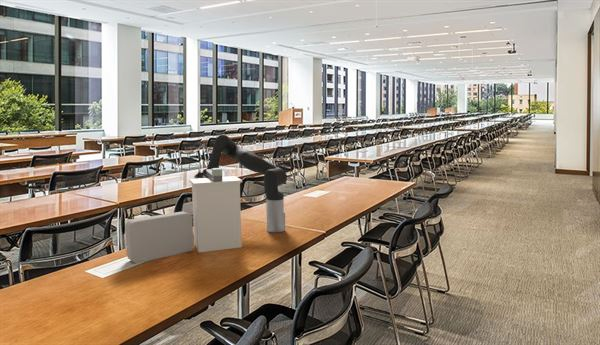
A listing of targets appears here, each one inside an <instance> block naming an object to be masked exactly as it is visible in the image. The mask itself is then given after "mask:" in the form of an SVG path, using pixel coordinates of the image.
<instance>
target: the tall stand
mask: <svg viewBox="0 0 600 345" xmlns="http://www.w3.org/2000/svg"><path fill="white" fill-rule="evenodd" d="M189 183H190V184H191V191H192V192H191V195H192V196H191V197H192V224H193V246H194V247H195V249H196V251H197V252H198V253H207V252H213V251H222V250H229V249H230V250H231V249H240V248H242V247H243V246H242V216H241V214H242V213H241V183H243V179H241V178H239V177H238V176H236V175H235V176H234V175H232V176H231V175H230V176H222V181H216V182H213V181H212V180H211V179H210V178H197V179H195V178H189Z"/></svg>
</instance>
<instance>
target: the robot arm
mask: <svg viewBox="0 0 600 345" xmlns="http://www.w3.org/2000/svg"><path fill="white" fill-rule="evenodd" d="M222 154H223V155H226V156H228V157H230V158H232V159H234V160H235V161H236V162H237V163H239V165H240V166H243V168H245V169H247V170H249V171H251V172H253V173H257V174H261V175H263V185H264V186H263V187H264V194H265V197H266V199H265V200H266V202H265V203H266V204H265V206H266V231H267V232H268V233H281V232H284V231H285V232H286V213H285V208H284V207H285V206H284V205H285V202H284V201H285V200H284V199H285V198H284V197H285V196H284V193H283V192H280V191H279V187H278V186H282V185H284V184H286V183H287V181H288V175H287V173H286V171H285V170H284V169H283V168H281V167H279V166H276V165H274V164H272V163H270V162H268V161H267V160H265V159H264V158H262V157H260V156H259V155H257V153H254V152H253V151H251V150H248V149H245V148H242V147H240V146H239V145H237V143H236V142H234V141H233V140H232V139H231V138H230V136H228V135H227V134H225V133H223V134H219V135H218V136H217V137H216V138H215V140H214V143H213V146H212V151H211V155H210V157H209V161H208V163H207V167H206V168H204V169H203V170H202V172H201V171H199V172H197V173H196V174H195V175H194V176H193V177H194V178H193V179H197V178H208V177H207V176H206V169H212V168H220V161H221V155H222Z"/></svg>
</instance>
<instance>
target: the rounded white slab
mask: <svg viewBox="0 0 600 345" xmlns="http://www.w3.org/2000/svg"><path fill="white" fill-rule="evenodd" d="M124 228H125V230H124V231H125V232H124V233H125V245H126V246H125V247H126V256H127V258H128V260H130V261H131V262H132V263H135V264H138V263H143V262H147V261H152V260H153V261H154V260H157V259H161V258H165V257H170V256H176V255H180V254H184V253H187V252H188V253H189V252H192V249H194V248H193V247H194V223H193V215H192V214H190V213H188V212H186V211H178V212H177V211H176V212H170V213H165V214H158V215H152V216H146V217H145V216H144V217H140V218H133V219H129V220H127V221H126V223H125V225H124Z"/></svg>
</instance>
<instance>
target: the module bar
mask: <svg viewBox="0 0 600 345" xmlns="http://www.w3.org/2000/svg"><path fill="white" fill-rule="evenodd" d="M205 169H206V176H207V177H208V178H210V179H211V180H212V181H213V182H216V181H222V177H223V169H222V168H221V167H219V168H212V169H207V168H205Z"/></svg>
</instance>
